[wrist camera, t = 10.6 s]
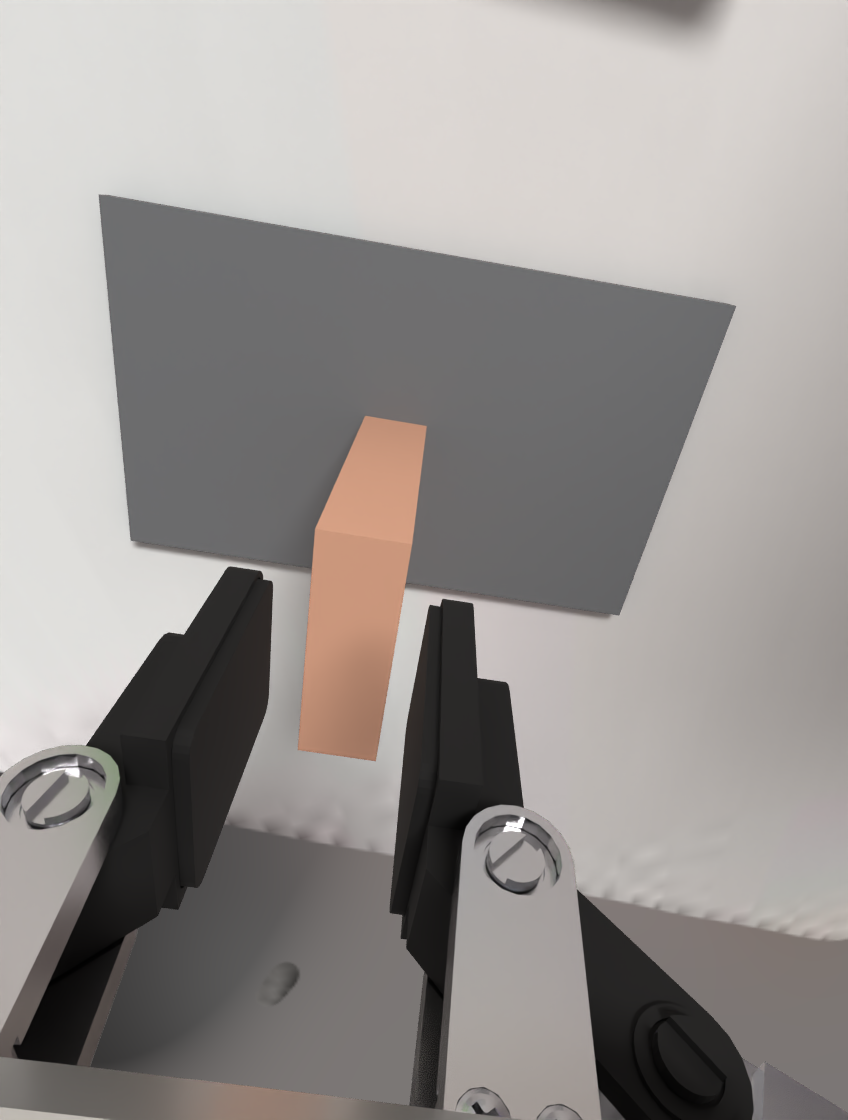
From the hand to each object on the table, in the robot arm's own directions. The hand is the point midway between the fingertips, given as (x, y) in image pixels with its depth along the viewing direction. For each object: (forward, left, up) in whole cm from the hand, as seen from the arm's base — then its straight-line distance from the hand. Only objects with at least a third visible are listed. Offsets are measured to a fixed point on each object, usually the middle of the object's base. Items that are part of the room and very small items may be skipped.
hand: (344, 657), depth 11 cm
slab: (0, -1, -8) cm, 8 cm away
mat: (0, 0, -13) cm, 13 cm away
